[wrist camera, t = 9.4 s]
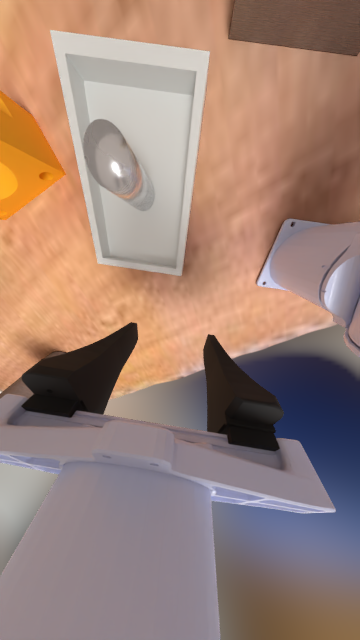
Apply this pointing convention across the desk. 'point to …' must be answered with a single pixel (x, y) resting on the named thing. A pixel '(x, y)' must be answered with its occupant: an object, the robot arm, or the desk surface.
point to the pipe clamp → (23, 159)
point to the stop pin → (116, 165)
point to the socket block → (299, 24)
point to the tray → (137, 139)
